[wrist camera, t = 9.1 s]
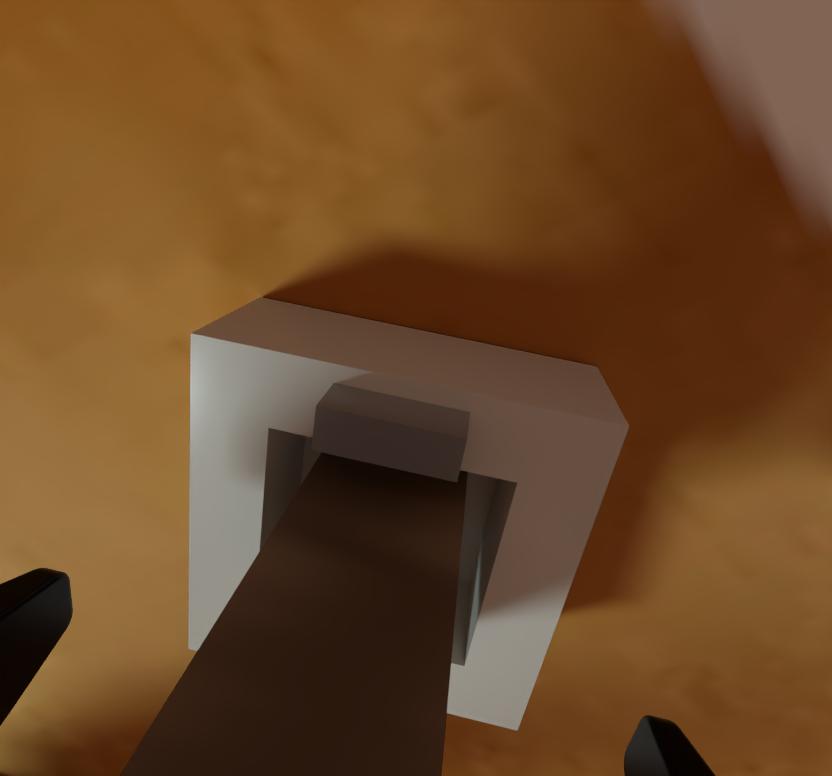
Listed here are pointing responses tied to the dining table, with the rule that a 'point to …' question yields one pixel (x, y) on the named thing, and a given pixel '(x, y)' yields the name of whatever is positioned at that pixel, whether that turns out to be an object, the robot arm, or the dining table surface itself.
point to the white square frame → (405, 466)
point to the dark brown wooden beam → (328, 639)
